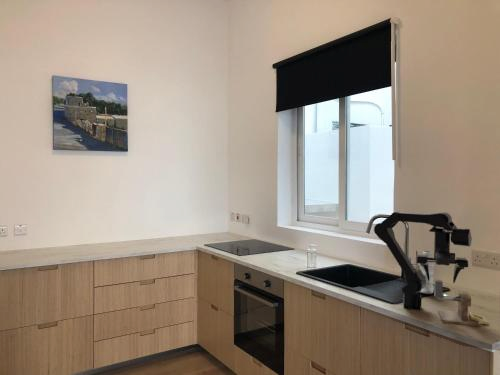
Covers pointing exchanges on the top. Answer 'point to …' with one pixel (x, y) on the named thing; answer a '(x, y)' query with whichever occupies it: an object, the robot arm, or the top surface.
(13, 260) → the top surface
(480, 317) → the bar
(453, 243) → the robot arm
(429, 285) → the plastic bottle
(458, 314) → the bearing stand
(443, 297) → the shaft
